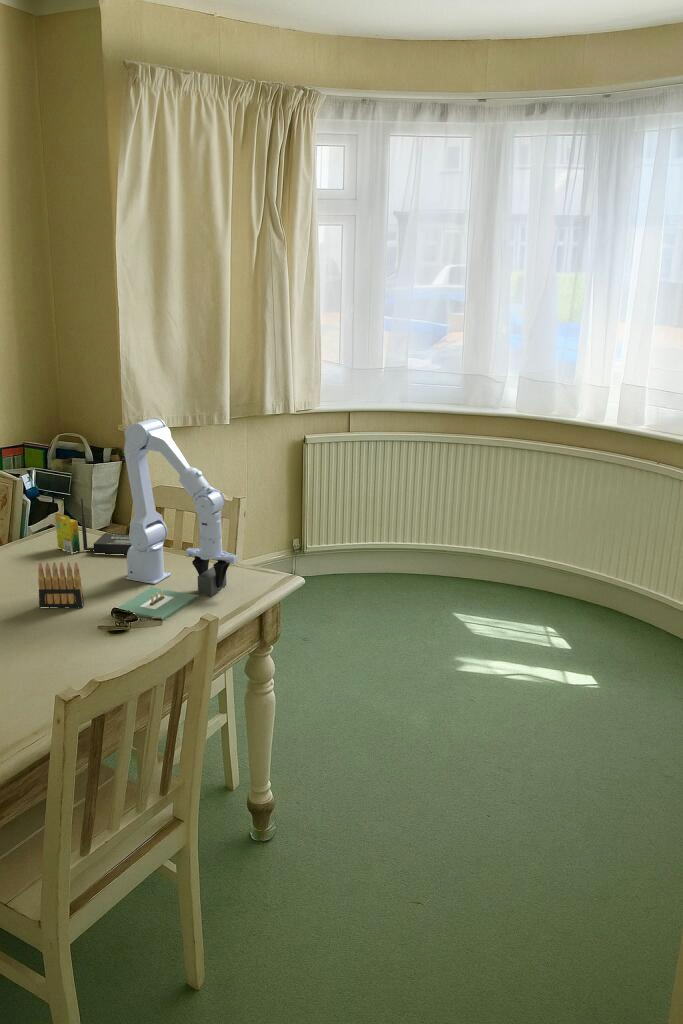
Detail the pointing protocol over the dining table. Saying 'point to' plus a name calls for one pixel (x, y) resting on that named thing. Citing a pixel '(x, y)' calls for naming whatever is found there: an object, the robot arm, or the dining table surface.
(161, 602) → the header board
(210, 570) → the block
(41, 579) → the ammunition clip
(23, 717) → the dining table surface
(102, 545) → the wifi router
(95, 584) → the dining table surface
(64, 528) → the crayon box
